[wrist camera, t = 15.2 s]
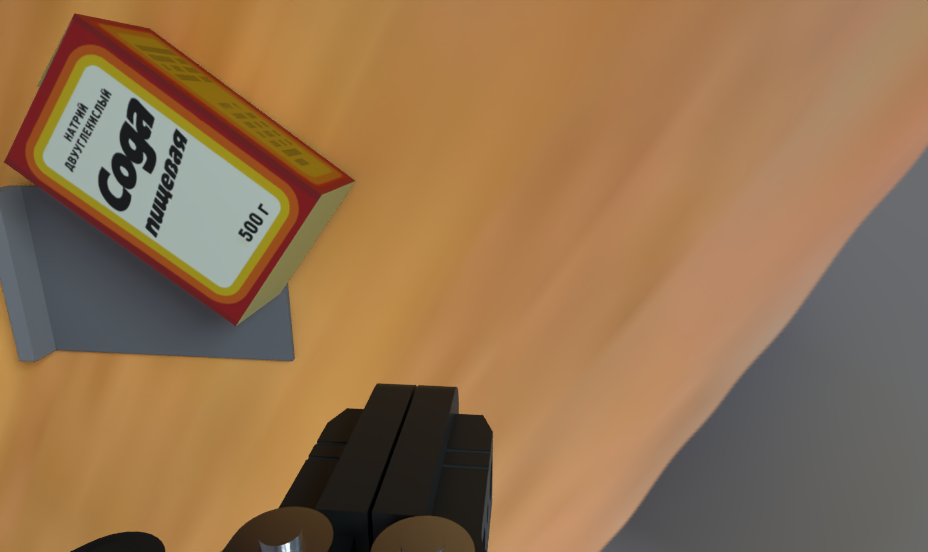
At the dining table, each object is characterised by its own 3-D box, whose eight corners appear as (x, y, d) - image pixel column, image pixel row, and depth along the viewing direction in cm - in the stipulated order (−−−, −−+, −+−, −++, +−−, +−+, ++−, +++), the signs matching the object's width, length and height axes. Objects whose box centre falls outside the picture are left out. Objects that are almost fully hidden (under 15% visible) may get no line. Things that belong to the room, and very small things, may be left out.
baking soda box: (235, 326, 36) (-2, 158, 35) (280, 293, 42) (80, 150, 41) (321, 194, 33) (68, 9, 32) (355, 181, 40) (144, 24, 39)
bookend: (9, 185, 43) (-21, 191, 41) (279, 190, 41) (264, 196, 38) (44, 347, 46) (19, 360, 44) (294, 358, 44) (281, 373, 42)
